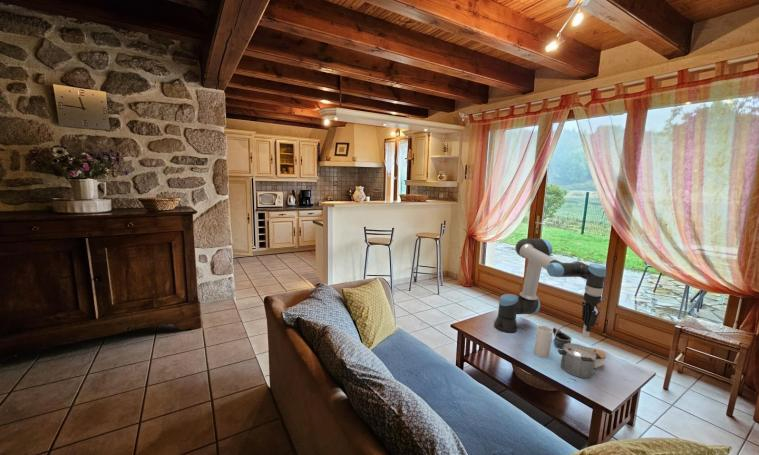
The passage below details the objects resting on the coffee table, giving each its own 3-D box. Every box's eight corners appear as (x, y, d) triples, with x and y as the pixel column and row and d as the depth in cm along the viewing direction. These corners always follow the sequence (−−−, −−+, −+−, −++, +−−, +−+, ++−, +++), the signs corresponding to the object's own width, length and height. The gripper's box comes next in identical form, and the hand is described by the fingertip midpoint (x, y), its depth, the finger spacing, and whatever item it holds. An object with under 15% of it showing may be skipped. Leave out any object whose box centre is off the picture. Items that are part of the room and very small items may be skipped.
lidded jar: (577, 361, 186) (579, 346, 184) (589, 358, 190) (591, 343, 188) (595, 372, 176) (598, 356, 174) (608, 368, 180) (610, 352, 179)
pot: (550, 358, 187) (552, 342, 185) (588, 363, 184) (591, 346, 183) (562, 375, 171) (565, 357, 169) (603, 380, 169) (607, 362, 167)
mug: (563, 351, 195) (565, 336, 194) (545, 341, 207) (547, 327, 205) (573, 349, 199) (576, 334, 198) (555, 339, 211) (557, 325, 209)
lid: (558, 343, 184) (558, 340, 184) (587, 346, 182) (587, 343, 182) (572, 360, 167) (572, 357, 167) (604, 364, 165) (604, 361, 165)
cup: (551, 358, 188) (554, 332, 185) (536, 356, 189) (539, 330, 187) (546, 350, 196) (550, 326, 193) (532, 348, 197) (535, 324, 195)
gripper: (579, 288, 173) (572, 329, 177) (591, 298, 160) (583, 341, 164) (594, 290, 172) (586, 330, 176) (607, 299, 159) (599, 343, 163)
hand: (585, 336), depth 170 cm, fingers closed
